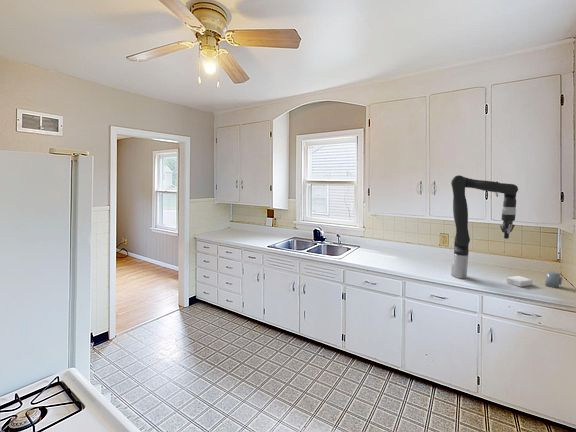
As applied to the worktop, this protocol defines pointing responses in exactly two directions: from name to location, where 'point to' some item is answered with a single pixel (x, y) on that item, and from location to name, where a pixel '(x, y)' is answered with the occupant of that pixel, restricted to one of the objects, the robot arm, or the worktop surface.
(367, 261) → the worktop surface
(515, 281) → the photo printer
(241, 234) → the worktop surface
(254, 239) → the worktop surface
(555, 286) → the grey rounded cylinder
